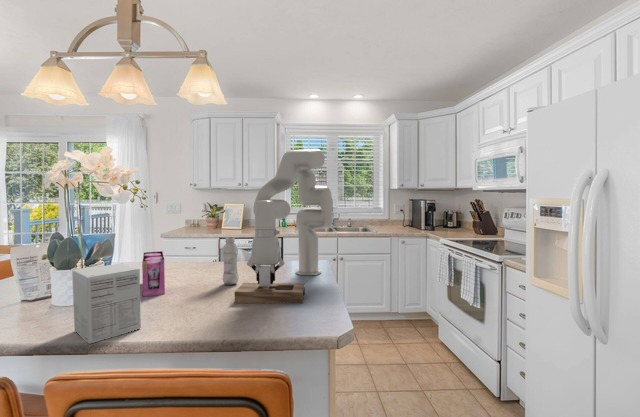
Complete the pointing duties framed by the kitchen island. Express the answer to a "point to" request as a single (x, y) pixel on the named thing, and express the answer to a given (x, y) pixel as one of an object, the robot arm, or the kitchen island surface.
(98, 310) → the supplement box
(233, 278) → the plastic bottle
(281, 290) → the keyhole plate
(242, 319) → the kitchen island surface
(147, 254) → the gum box
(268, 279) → the steel peg
